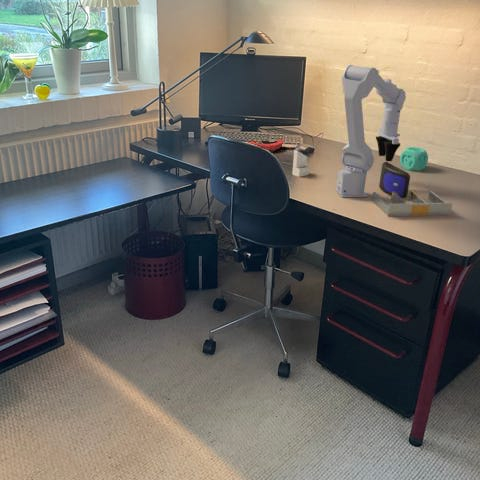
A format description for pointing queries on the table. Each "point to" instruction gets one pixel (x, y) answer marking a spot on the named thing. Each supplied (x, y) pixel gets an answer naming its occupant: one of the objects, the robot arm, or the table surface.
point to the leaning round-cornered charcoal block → (394, 180)
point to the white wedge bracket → (300, 164)
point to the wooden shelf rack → (413, 205)
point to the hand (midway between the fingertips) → (385, 158)
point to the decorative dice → (414, 158)
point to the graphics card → (269, 144)
